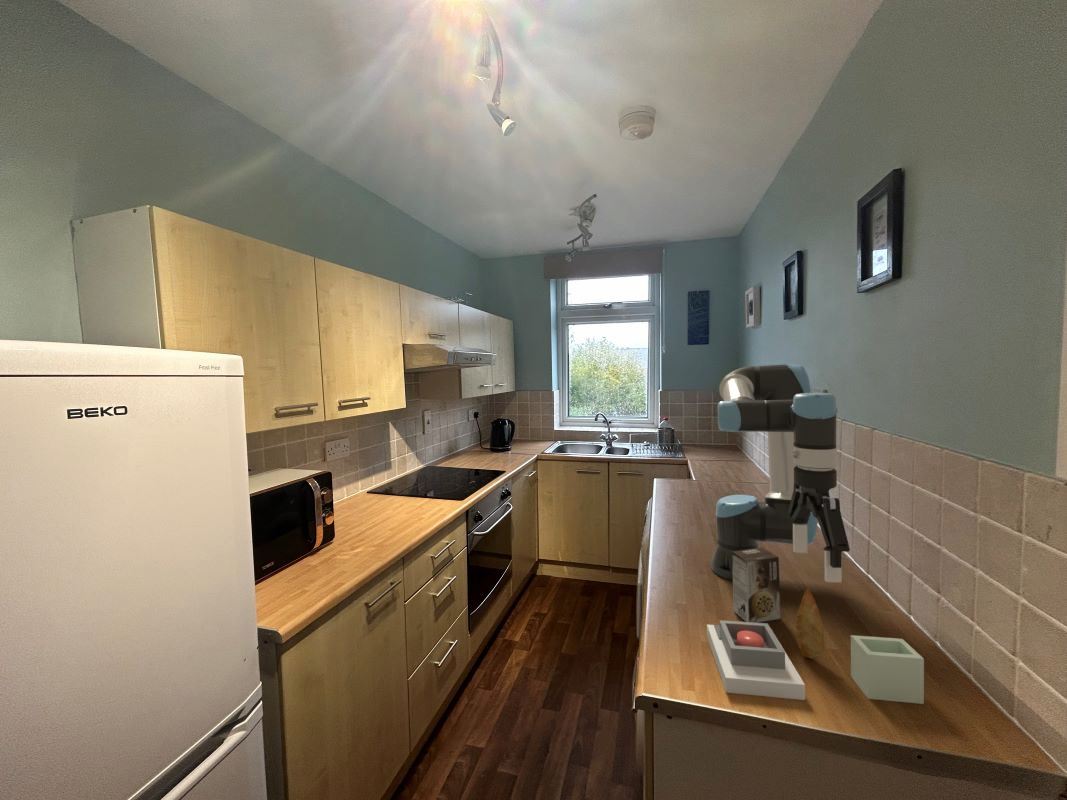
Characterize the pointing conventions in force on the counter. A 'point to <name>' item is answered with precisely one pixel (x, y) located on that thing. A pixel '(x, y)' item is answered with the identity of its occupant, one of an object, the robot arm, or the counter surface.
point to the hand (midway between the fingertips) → (815, 565)
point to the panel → (753, 662)
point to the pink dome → (749, 639)
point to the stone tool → (809, 627)
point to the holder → (887, 669)
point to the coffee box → (756, 585)
